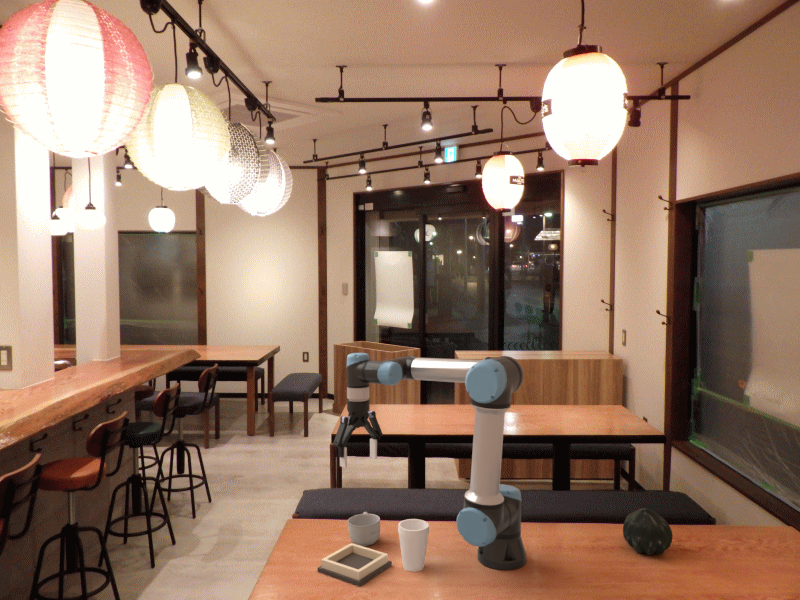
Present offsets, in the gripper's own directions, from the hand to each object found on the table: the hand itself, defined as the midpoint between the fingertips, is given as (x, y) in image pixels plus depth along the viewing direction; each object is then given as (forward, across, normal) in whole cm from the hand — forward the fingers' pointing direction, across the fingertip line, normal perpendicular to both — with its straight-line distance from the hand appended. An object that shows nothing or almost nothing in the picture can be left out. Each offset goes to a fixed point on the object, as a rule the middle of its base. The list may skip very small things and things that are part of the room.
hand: (358, 462), depth 209 cm
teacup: (+27, -1, +2) cm, 27 cm away
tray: (+26, +15, +14) cm, 34 cm away
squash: (+27, -60, +73) cm, 98 cm away
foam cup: (+27, +2, +26) cm, 38 cm away
